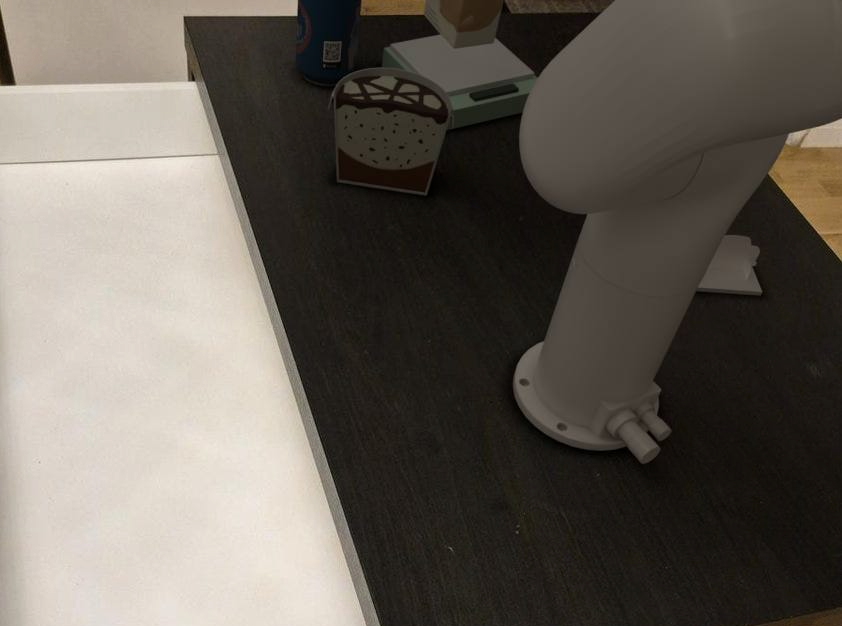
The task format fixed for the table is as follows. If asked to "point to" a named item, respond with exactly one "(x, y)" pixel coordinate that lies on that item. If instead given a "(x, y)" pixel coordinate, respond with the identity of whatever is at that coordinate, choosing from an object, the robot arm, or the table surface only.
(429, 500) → the table surface
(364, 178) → the food container
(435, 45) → the scale
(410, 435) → the table surface
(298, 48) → the soda can
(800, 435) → the table surface
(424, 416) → the table surface
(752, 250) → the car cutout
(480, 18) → the cosmetic box
